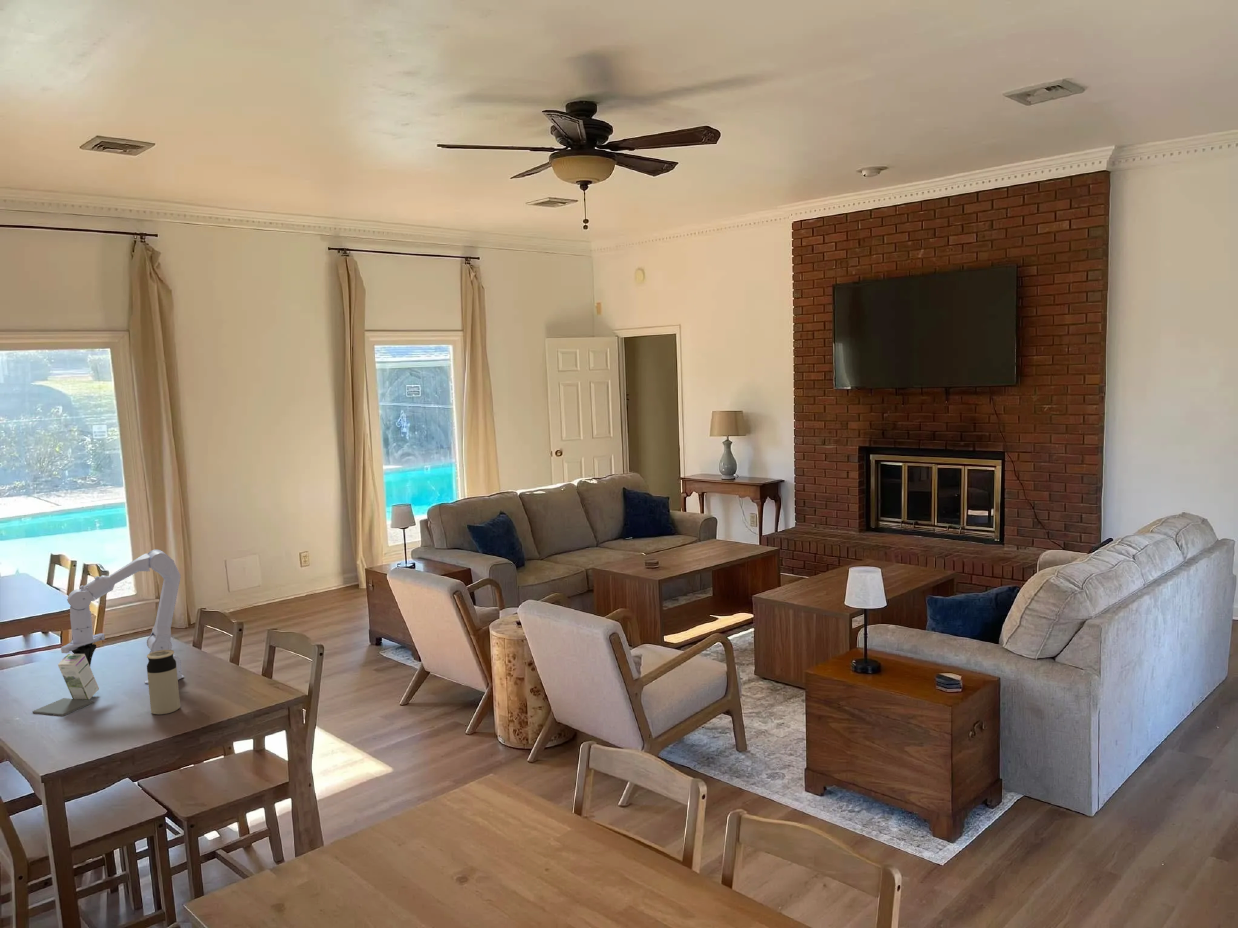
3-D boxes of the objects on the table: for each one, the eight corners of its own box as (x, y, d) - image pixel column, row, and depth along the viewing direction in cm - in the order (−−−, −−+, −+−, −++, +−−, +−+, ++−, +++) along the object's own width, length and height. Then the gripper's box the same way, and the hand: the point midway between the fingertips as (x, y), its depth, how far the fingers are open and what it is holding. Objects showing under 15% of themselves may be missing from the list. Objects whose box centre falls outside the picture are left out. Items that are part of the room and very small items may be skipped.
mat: (93, 702, 280) (93, 700, 280) (63, 715, 269) (62, 714, 269) (64, 699, 283) (63, 697, 283) (32, 712, 273) (32, 710, 273)
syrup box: (100, 688, 287) (85, 652, 281) (88, 700, 282) (73, 664, 276) (83, 688, 288) (68, 652, 282) (72, 700, 282) (56, 664, 276)
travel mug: (168, 715, 267) (162, 658, 265) (145, 714, 268) (139, 657, 266) (185, 705, 275) (180, 649, 273) (163, 704, 276) (158, 648, 274)
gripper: (91, 619, 291) (95, 659, 293) (51, 632, 278) (56, 674, 279) (108, 620, 289) (112, 661, 291) (69, 634, 276) (73, 676, 277)
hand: (85, 667), depth 285 cm, fingers closed
